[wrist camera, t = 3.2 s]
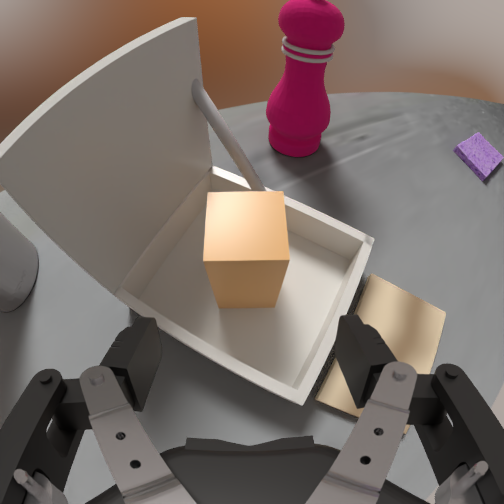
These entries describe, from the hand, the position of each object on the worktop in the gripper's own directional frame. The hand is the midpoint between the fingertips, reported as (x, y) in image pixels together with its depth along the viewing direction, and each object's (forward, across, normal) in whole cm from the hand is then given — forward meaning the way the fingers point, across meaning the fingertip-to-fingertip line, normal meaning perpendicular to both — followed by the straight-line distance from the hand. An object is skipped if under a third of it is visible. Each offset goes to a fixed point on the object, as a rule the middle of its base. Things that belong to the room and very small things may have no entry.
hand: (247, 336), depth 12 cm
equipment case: (+12, 0, +3) cm, 13 cm away
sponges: (+28, -40, -11) cm, 50 cm away
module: (+12, 0, +3) cm, 12 cm away
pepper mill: (+26, -6, -10) cm, 28 cm away
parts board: (+8, -12, +8) cm, 17 cm away
